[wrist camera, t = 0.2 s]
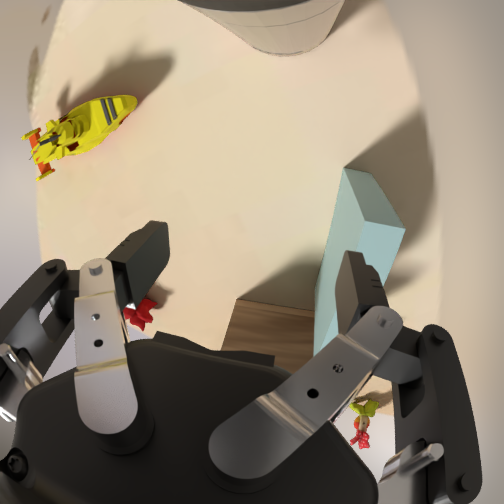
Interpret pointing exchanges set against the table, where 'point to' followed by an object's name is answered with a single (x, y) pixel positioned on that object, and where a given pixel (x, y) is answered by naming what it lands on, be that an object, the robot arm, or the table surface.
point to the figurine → (140, 313)
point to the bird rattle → (363, 422)
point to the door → (354, 243)
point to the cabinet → (272, 333)
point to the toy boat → (79, 130)
